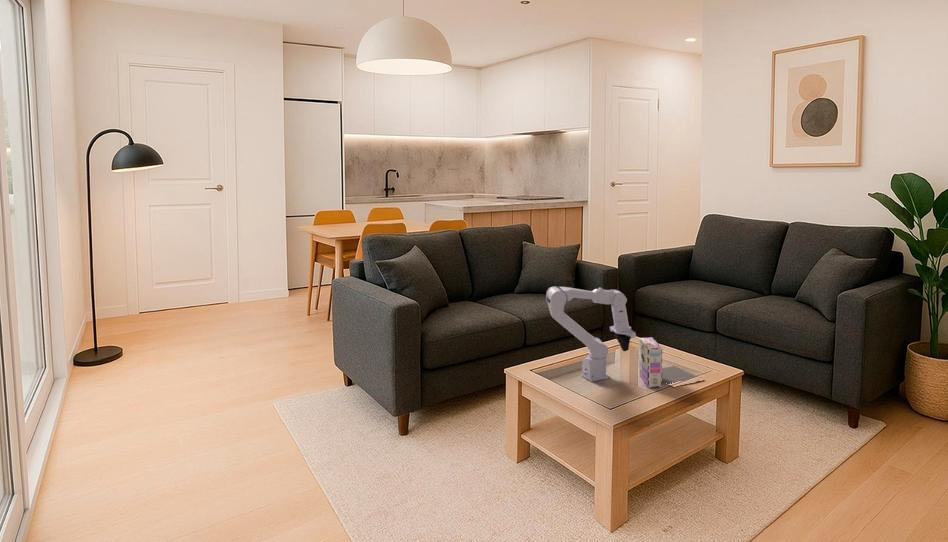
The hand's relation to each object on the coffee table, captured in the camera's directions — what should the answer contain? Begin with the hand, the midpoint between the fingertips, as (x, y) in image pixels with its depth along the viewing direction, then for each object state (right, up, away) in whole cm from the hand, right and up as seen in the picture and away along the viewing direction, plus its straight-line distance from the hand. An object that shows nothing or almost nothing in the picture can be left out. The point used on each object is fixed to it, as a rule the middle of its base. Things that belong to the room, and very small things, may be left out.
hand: (625, 350), depth 249 cm
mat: (+20, -11, -1) cm, 22 cm away
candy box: (+9, -12, -6) cm, 16 cm away
